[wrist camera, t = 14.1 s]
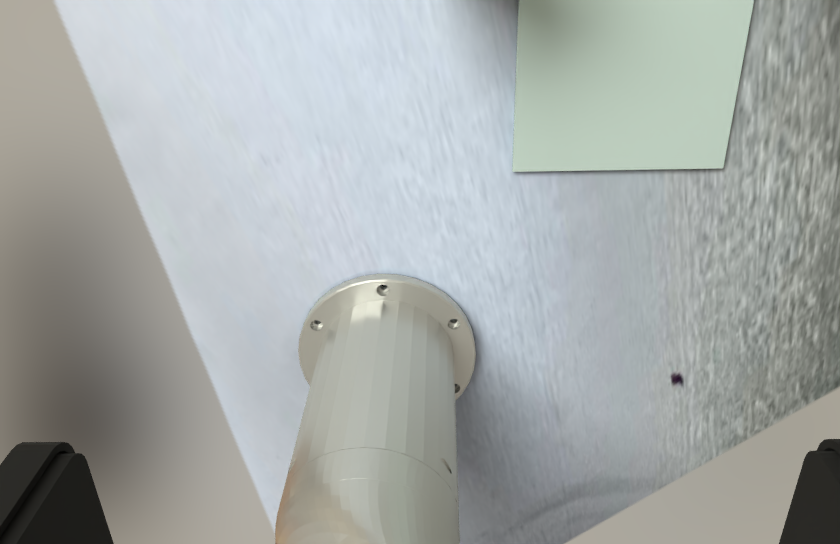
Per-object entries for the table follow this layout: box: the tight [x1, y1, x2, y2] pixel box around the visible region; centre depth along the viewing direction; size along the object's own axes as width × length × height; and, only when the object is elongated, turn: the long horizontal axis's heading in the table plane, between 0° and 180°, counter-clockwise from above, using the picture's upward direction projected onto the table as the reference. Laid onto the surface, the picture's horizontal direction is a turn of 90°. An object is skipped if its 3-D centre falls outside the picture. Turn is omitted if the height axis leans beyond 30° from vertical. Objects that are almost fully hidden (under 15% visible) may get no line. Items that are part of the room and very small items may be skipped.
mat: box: [512, 0, 754, 172], centre depth 42 cm, size 13×13×1 cm
